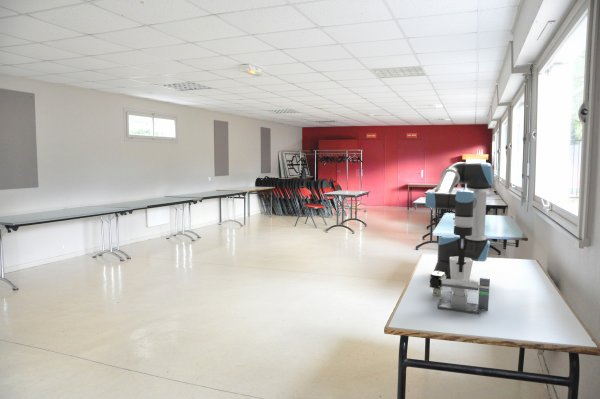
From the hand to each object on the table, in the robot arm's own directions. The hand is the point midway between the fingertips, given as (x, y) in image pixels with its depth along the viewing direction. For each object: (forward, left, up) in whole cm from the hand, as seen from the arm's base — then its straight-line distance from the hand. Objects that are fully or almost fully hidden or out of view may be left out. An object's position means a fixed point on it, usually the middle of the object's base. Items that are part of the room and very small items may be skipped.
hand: (460, 278), depth 188 cm
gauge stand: (-1, +1, -13) cm, 13 cm away
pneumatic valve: (0, -17, -13) cm, 22 cm away
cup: (-13, -19, -13) cm, 27 cm away
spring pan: (-2, +1, -8) cm, 8 cm away
